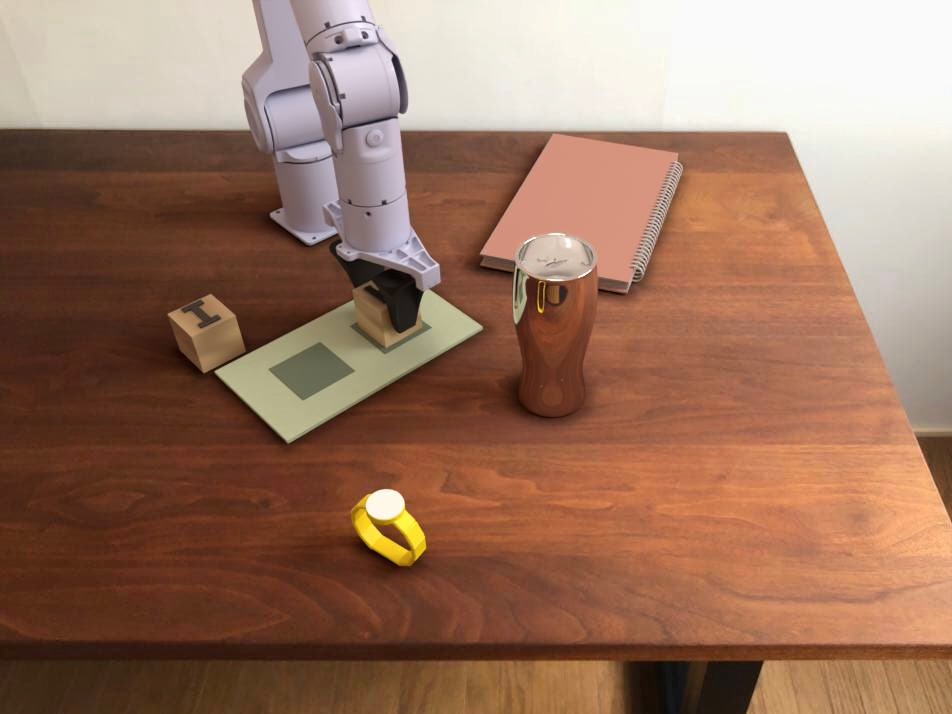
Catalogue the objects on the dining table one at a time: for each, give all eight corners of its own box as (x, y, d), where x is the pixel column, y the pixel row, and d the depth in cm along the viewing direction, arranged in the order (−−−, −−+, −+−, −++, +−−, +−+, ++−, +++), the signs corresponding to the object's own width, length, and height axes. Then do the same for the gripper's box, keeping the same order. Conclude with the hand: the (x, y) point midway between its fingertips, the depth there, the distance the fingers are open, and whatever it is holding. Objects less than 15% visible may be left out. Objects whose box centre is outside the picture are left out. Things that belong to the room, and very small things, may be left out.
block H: (394, 307, 88) (389, 269, 85) (422, 327, 86) (418, 289, 83) (358, 326, 86) (351, 288, 83) (385, 348, 84) (380, 309, 80)
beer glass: (501, 379, 81) (498, 241, 71) (570, 360, 83) (577, 223, 73) (531, 430, 77) (532, 290, 66) (603, 408, 79) (616, 269, 68)
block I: (222, 330, 86) (210, 291, 83) (246, 351, 84) (235, 313, 81) (180, 350, 84) (166, 312, 81) (203, 373, 82) (190, 335, 78)
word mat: (406, 275, 93) (405, 272, 92) (482, 329, 86) (482, 325, 86) (215, 374, 82) (213, 370, 81) (287, 444, 75) (286, 440, 75)
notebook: (637, 297, 90) (638, 281, 89) (480, 267, 94) (479, 251, 92) (685, 167, 109) (687, 152, 108) (553, 145, 112) (553, 131, 111)
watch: (349, 548, 68) (337, 498, 64) (372, 523, 70) (362, 473, 65) (412, 583, 66) (404, 534, 61) (434, 557, 67) (428, 507, 63)
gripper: (284, 173, 77) (310, 299, 87) (386, 243, 70) (403, 372, 79) (351, 146, 81) (369, 269, 90) (455, 209, 73) (463, 336, 83)
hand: (389, 315), depth 85 cm, fingers closed on block H, 4 cm apart
